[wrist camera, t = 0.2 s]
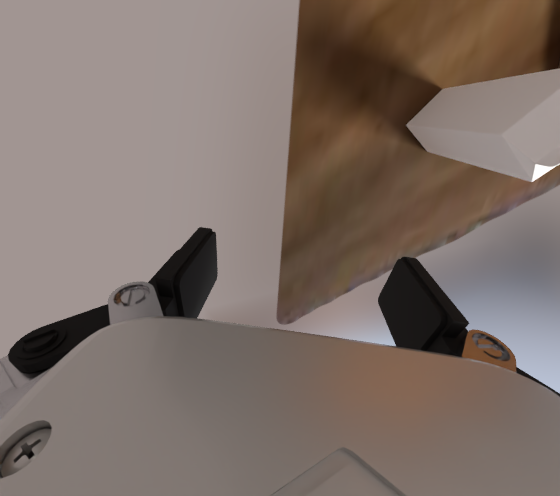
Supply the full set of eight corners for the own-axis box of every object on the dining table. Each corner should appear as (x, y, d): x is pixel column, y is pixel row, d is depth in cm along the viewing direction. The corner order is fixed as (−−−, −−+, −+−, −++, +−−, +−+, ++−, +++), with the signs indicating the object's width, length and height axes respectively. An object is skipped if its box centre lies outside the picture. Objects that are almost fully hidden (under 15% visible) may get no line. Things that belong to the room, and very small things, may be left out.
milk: (463, 119, 33) (684, 126, 14) (426, 152, 35) (570, 195, 17) (441, 87, 31) (661, 48, 12) (404, 125, 34) (537, 139, 15)
